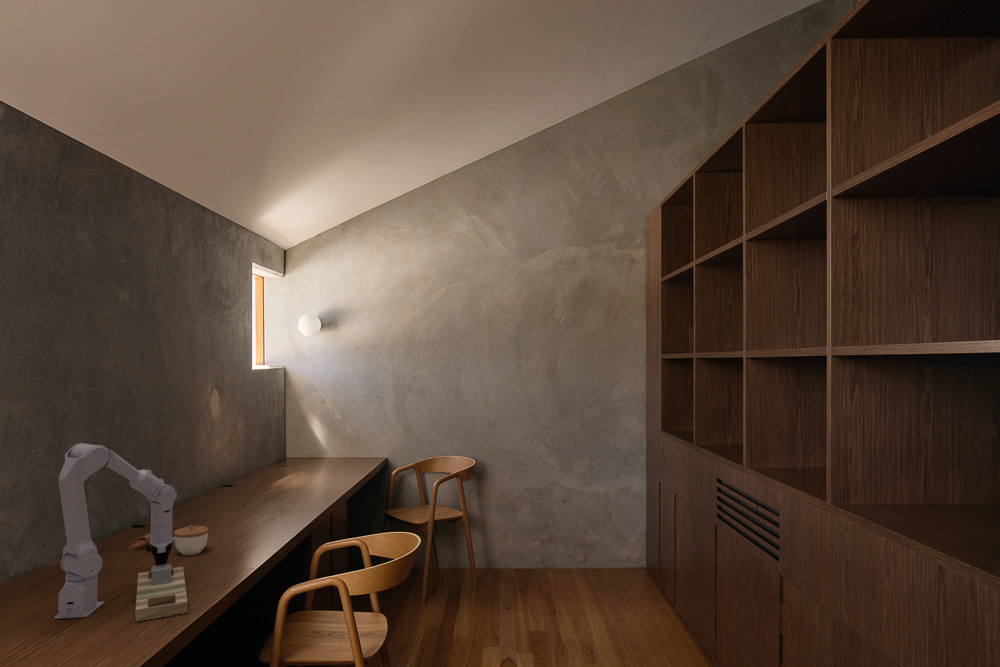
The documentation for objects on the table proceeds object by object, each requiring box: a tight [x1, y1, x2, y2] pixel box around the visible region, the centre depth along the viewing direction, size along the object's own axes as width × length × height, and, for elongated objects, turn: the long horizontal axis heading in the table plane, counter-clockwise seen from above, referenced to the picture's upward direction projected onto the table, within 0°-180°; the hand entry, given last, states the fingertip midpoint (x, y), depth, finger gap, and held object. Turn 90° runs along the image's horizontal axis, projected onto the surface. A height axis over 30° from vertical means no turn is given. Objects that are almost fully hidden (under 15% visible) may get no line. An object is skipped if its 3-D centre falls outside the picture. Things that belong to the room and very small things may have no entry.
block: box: [151, 563, 172, 586], centre depth 186 cm, size 5×5×4 cm
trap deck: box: [134, 565, 189, 623], centre depth 182 cm, size 32×12×3 cm, turn 28°
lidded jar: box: [173, 524, 209, 556], centre depth 223 cm, size 11×11×9 cm
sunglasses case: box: [126, 532, 153, 551], centre depth 232 cm, size 18×7×7 cm
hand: (161, 570), depth 193 cm, fingers closed
